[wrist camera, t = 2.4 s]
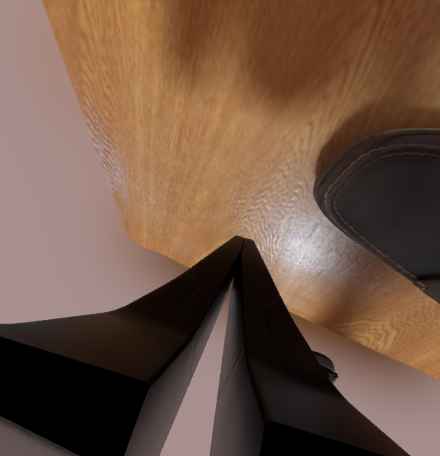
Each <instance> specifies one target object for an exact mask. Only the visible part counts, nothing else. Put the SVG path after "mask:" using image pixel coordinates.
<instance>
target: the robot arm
mask: <svg viewBox="0 0 440 456" xmlns="http://www.w3.org/2000/svg"><path fill="white" fill-rule="evenodd" d="M233 277H234V278H233ZM232 281H233V282H232ZM231 284H232V288H231V296H230V304H229V311H228V319H227V327H226V334H225V342H224V350H223V357H222V365H221V374H220V380H219V388H218V396H217V403H216V411H215V419H214V426H213V434H212V442H211V450H210V456H410V455H409V454H408V453H407V452H405V451H404V450H403V449H402V448H401V447H399V446H398V445H397V444H396V443H395V442H394V441H393V440H392V439H390V438H389V437H388V436H387V435H386V434H385V433H384V432H382V431H381V430H380V429H379V428H378V427H377V426H375V425H374V424H373V423H372V422H371V421H370V420H369V419H367V418H366V417H365V416H364V415H363V414H361V413H360V412H359V411H358V410H357V409H356V408H355V407H354V406H353V405H351V404H350V403H349V402H348V401H347V400H346V399H345V398H344V397H343V396H342V394H341V393H340V392H339V391H338V390H337V388H336V387H335V386H334V384H333V383H332V382H333V381H334V380H335V379H337V378H338V374H337V373H335V372H332V371H330V370H327V369H324V368H322V366H321V365H320V363H319V361H318V360H317V358H316V357H315V355H314V353H313V352H312V350H311V349H310V347H309V345H308V344H307V342H306V341H305V339H304V337H303V336H302V334H301V332H300V331H299V329H298V327H297V326H296V324H295V323H294V321H293V319H292V317H291V315H290V314H289V312H288V310H287V308H286V306H285V304H284V302H283V300H282V298H281V296H279V295H280V294H279V292H278V290H277V288H276V286H275V284H274V281H273V279H272V277H271V275H270V273H269V271H268V269H267V267H266V265H265V263H264V261H263V259H262V257H261V255H260V253H259V251H258V249H257V247H256V245H255V242H254V241H253V240H251V239H247V238H245V239H244V237H240V236H237V235H236V236H234V237H233V238H232V239H230V240H229V241H227V242H226V243H225V244H223V245H222V246H220V247H219V248H218V249H216V250H215V251H213V252H212V253H211V254H209V255H208V256H206V257H205V258H204V259H202V260H201V261H199V262H198V263H197V264H195V265H194V266H192V268H190V269H188V270H187V271H185V272H184V273H183V274H181V275H179V276H178V277H176V278H175V279H173V280H171V281H170V282H168V283H166V284H165V285H163V286H161V287H159V288H158V289H156V290H154V291H152V292H150V293H148V294H147V295H145V296H143V297H141V298H139V299H138V300H136V301H134V302H132V303H130V304H129V305H126V306H124V307H122V308H119V309H116V310H113V311H109V312H105V313H97V314H89V315H81V316H74V317H66V318H58V319H50V320H42V321H34V322H26V323H16V324H0V456H159V455H160V453H161V450H162V448H163V445H164V443H165V441H166V439H167V436H168V434H169V431H170V429H171V427H172V424H173V422H174V419H175V417H176V415H177V412H178V410H179V407H180V405H181V403H182V400H183V398H184V396H185V393H186V391H187V388H188V386H189V384H190V381H191V379H192V377H193V374H194V372H195V370H196V367H197V365H198V362H199V360H200V358H201V355H202V353H203V351H204V348H205V346H206V343H207V341H208V339H209V336H210V333H211V332H212V329H213V327H214V324H215V322H216V320H217V317H218V315H219V312H220V310H221V308H222V305H223V303H224V301H225V298H226V296H227V294H228V291H229V289H230V286H231Z"/></svg>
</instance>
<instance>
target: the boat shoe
mask: <svg viewBox="0 0 440 456" xmlns="http://www.w3.org/2000/svg"><path fill="white" fill-rule="evenodd" d="M313 196H314V198H315V201H316V202H317V204H318V206H319V208H320V209H321V211H322V212H323V213H324V215H325V216H326V217H327V218H328V219H329V220H330V221H331V222H332V223H333V224H334V225H335V226H336V227H337V228H338V229H339V230H341V231H342V232H343V233H344V234H346V235H347V236H348V237H350V238H351V239H352V240H354V241H355V242H357V243H358V244H360V245H361V246H362V247H364V248H365V249H367V250H368V251H370V252H372V253H373V254H375V255H376V256H378V257H379V258H380V259H382V260H383V261H384V262H386V263H387V264H388V265H390V266H391V267H392V268H394V269H395V270H396V271H397V272H399V273H400V274H402V275H403V276H404V277H406V278H407V279H409V280H410V281H412V282H413V284H414V285H415V286H417V287H419V289H420V290H421V291H423V292H424V293H425V294H427V295H428V296H430V297H431V298H432V299H434V300H435V301H437V302H438V303H439V304H440V128H397V129H388V130H383V131H379V132H375V133H372V134H369V135H366V136H364V137H361V138H359V139H357V140H355V141H353V142H352V143H350V144H349V145H347V146H346V147H344V148H343V149H342V150H341V151H340V152H338V153H337V154H336V155H335V156H334V157H333V158H332V159H331V160H330V161H329V163H328V164H327V165H326V166H325V167H324V168H323V170H322V172H321V173H320V174H319V176H318V177H317V179H316V181H315V184H314V189H313Z"/></svg>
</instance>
